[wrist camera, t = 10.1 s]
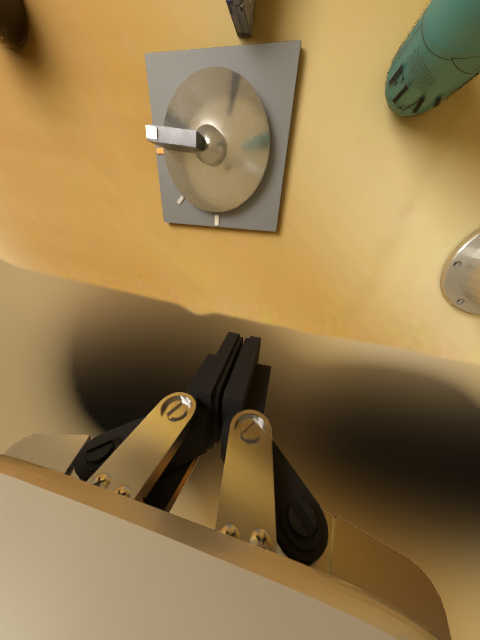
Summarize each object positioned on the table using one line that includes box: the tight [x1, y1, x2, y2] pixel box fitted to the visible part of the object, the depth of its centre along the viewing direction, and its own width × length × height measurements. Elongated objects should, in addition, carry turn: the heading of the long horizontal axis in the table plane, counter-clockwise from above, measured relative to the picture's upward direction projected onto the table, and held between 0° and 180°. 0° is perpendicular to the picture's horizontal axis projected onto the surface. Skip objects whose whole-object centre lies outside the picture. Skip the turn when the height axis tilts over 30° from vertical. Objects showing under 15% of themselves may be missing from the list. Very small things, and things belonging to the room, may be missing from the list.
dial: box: [146, 67, 270, 212], centre depth 24 cm, size 14×14×5 cm
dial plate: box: [145, 40, 301, 232], centre depth 27 cm, size 18×18×1 cm
